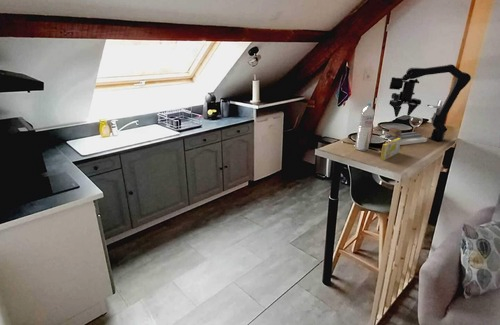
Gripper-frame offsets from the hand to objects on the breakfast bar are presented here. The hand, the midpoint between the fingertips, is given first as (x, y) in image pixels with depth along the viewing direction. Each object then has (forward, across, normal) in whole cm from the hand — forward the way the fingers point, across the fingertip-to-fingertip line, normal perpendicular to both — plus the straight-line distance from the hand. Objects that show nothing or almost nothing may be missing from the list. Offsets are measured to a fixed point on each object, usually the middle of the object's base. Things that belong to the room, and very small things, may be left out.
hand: (402, 116), depth 178 cm
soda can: (+12, +30, +6) cm, 33 cm away
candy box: (+12, +30, +27) cm, 42 cm away
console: (+12, +5, +9) cm, 16 cm away
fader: (+10, +12, +9) cm, 18 cm away
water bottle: (+12, +38, +14) cm, 42 cm away
